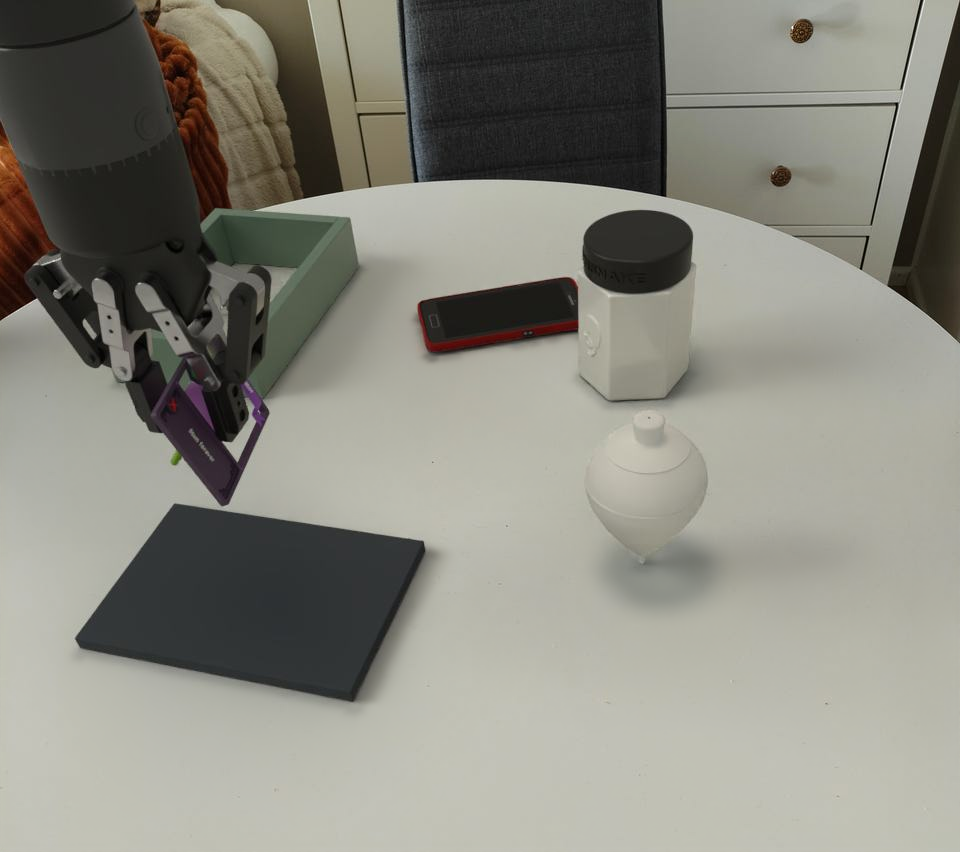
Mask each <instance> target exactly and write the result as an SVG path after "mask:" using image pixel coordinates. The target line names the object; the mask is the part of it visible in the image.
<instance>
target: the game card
mask: <svg viewBox="0 0 960 852" xmlns="http://www.w3.org/2000/svg"><path fill="white" fill-rule="evenodd" d="M207 351H208V353H210V354H211V352H210V351H209V349H208V347H207ZM210 354H209V355H210ZM211 355H212V354H211ZM186 369H187V372H188V375H189V378H190V380H191V381H193V383H191V382H190V381H189V385H188V387H187V388H186V389H185V390H183V389H182V387H181V386H180V385H179V381H180V379H181V377H182V375H183V374H184V372H185V370H186ZM241 387H242V389H243V391H244V392H245V393H246V395H247V396H248V397H247V398H248V399H249V401H250V403H251V404H252V405H253V407H254V408H253V410H252V412H251V417H252V418H253V419H254V421H255V423H254V424H253V428H252V430H251V432H250V434H249V437H248V438H247V440H246V443H245V445H244V447H243V450H242V451H241V454H240V456H239V457H238V460H236V457H234V456H233V454H232V452H230V450H229V449H228V448H227V446H226V445H225V444H224V442H223V441H220V440H219V439H218V438H217V436H216V434H215V431H214V428H213V425H212V422H211V419H210V416H209V413H208V410H207V407H206V404H205V401H204V398H203V395H202V392H201V390H202V389H203V386H202V385H201V383H200V382H199V380H198V378H197V376H196V375H195V373H194V371H193V370H192V368H191V366H190V365H189V363H188V361H187V359H186V358H184V357H183V359H182V361H181V362H180V364H179V366H178V368H177V369H176V371H175V373H174V375H173V376H172V378H171V380H170V381H169V383H168V385H167V387H166V388H165V390H164V392H163V394H162V395H161V397H160V399H159V401H158V402H157V404H156V406H155V408H154V409H153V411H152V413H151V418H152V420H153V421H154V422H155V423H156V425H157V426H158V427H159V428H160V430H161V431H162V432H163V433H162V434H163V435H164V436H165V438H166V439H167V440H168V441H169V443H170V444H171V445H172V446H173V448H174V449H175V451H174V453H172V458H171V459H170V464H171V465H172V466H177V465H178V464H179V462H180V461H181V460H182V459H183V461H185V463H186V464H187V465H188V466H189V468H190V469H191V470H192V472H193V473H194V474H195V476H196V477H197V478H198V479H199V481H200V482H201V483H202V484H203V485H204V487H205V488H206V489H207V490H208V492H209V493H210V495H211V496H212V497H213V498H214V499H215V500H216V502H217V503H218V505H220V506H221V507H225V506H229V504H230V503H231V500H232V498H233V496H234V494H235V492H236V489H237V488H238V485H239V482H240V481H241V479H242V477H243V475H244V472H245V469H246V468H247V465H248V463H249V461H250V458H251V456H252V454H253V451H254V449H255V448H256V445H257V443H258V440H259V438H260V436H261V434H262V431H263V429H264V428H265V425H266V422H267V420H268V418H269V416H270V409H269V408H268V406H267V405H266V404H265V402H264V400H263V399H261V398H260V396H259V395H258V393H257V392H256V390H255V389H254V388H253V386H252V385H251V383H250V382H249V380H248V379H247V380H246V382H245V383H244V384H242V385H241Z"/></svg>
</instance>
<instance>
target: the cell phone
mask: <svg viewBox="0 0 960 852" xmlns="http://www.w3.org/2000/svg"><path fill="white" fill-rule="evenodd" d="M416 309H417V315H418V320H419V323H420V324H419V325H420V327H421V332H422V336H423V340H424V344H425V347H426V349H427V350H428V351H429V352H431V353H439V352H447V351H454V350H458V349H466V348H471V347H478V346H483V345H489V344H490V345H491V344H495V343H501V342H507V341H513V340H519V339H525V338H531V337H537V336H544V335H548V334H549V335H550V334H555V333H561V332H567V331H574V330H579V329H578V283H577V282H576V280H575V279H574V278H572V277H569V276H562V277H556V278H555V277H554V278H548V279H547V278H546V279H542V280H536V281H530V282H524V283H523V282H522V283H518V284H511V285H505V286H500V287H493V288H487V289H481V290H474V291H468V292H462V293H455V294H450V295H443V296H437V297H432V298H427V299H422V300H420V301H419V302H418V303H417V307H416Z"/></svg>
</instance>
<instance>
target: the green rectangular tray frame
mask: <svg viewBox="0 0 960 852" xmlns="http://www.w3.org/2000/svg"><path fill="white" fill-rule="evenodd" d="M352 224H353V223H352V219H351V217H349V216H337V215H323V214H307V213H293V212H292V213H291V212H279V211H278V212H276V211H265V210H263V211H261V210H248V209H232V208H221V207H220V208H219V207H215V208H214V209H213V210H212V211H211V212H210V213H209V214H208V215H207V216H206V217H205V219H203V220H202V221H201V222H200V225H201V230H202V233H203V235H204V236H205V238H206V240H207V241H208V243H209V244H210V245H211V246H212V248H213V249H214V250H215V252H216V254H217V256H218V259H219V262H220V263H223V264H225V265H228V266H230V267H232V265H234V263H236V264H248V265H257V266H270V267H271V266H272V267H273V266H274V267H283V268H296V270H295V271H294V272H293V274H292V275H291V276H290V278H289V279H288V280H287V282H285V284H284V285H283V286H282V287H281V289H280V290H279V291H278V292H277V294H276V295H275V296H274V298H273V299H272V300H270V303H269V315H268V326H267V337H266V348H265V356H264V358H263V359H262V361H261V362H260V363H259V365H258V366H257V367H256V369H255V370H254V371H253V373H252V374H251V375H250V376H249V378H248V380H249V382H250V383H251V385H252V386H253V388H254V389H255V390H256V392H257V393H258V395H259V396H260V398H261V399H262V400H263V399H264V398H265V397H266V395H267V394H268V393H269V391H270V390H271V388H272V387H273V386H274V385H275V383H276V381H277V380H278V379H279V377H280V376H281V375H282V373H283V372H284V371H285V369H286V368H287V366H288V365H289V364H290V362H291V361H292V359H293V358H294V357H295V355H296V354H297V353H298V351H299V350H300V349H301V347H302V346H303V344H304V343H305V342H306V341H307V339H308V338H309V336H310V334H311V333H312V332H313V331H314V329H315V328H316V326H317V325H318V324H319V322H320V321H321V320H322V319H323V317H324V316H325V314H326V313H327V311H328V310H329V309H330V307H331V306H332V304H333V303H334V301H335V300H336V299H337V297H338V296H339V295H340V293H341V292H342V291H343V289H344V288H345V286H346V285H347V284H348V282H349V281H350V279H351V278H352V277H353V276H354V275H355V273H356V271H357V270H358V268H359V267H360V263H359V258H358V253H357V248H356V241H355V237H354V231H353V225H352ZM151 336H152V346H153V355H152V356H151V357H150V358H151V360H152V361H159V362H160V365H161V368H162V370H163V373H164V376H165V379H166V382H167V384H168V383H169V381H170V380H171V378H172V376H173V375H174V373H175V371H176V369H177V368H178V366H179V364H180V362H181V361H182V359H183V357H178V356H177V355H176V353H175V352H174V350H173V349H172V347H171V345H170V343H169V342H168V340H167V338H166V337H165V335H164V333H162V332H159V331H157V330H154V329H151ZM209 354H210V353H209ZM210 356H211V358H212V359H213V356H212V355H211V354H210ZM110 369H111V368H110ZM111 372H112V374H113V377H114V379H115V382H117V383H124V384H125V382H124V381H123V380H121V379H119V378H118V377H117V376H116V375H115V374H114V372H113V370H112V369H111ZM189 381H190V382H191V383H193V381H191V380H190V378H189V375H188V372H187V369H186V370H185V372H184V374H183V375H182V377H181V379H180V381H179V385H180V386H181V387H182V389H183V390H185V389H186V388H187V387H188V385H189ZM242 390H243V389H242ZM243 394H244V397H245V398H248V396H247V395H246V393H245V392H244V391H243Z"/></svg>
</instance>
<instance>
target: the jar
mask: <svg viewBox="0 0 960 852" xmlns="http://www.w3.org/2000/svg"><path fill="white" fill-rule="evenodd" d="M582 239H583V240H582V241H583V244H582V249H581V251H582V253H581V254H582V256H581V258H582V262H583V264H582V265H583V266H581V268H579V269H578V271H577V286H578V329H577V330H578V374H579V376H580V377H581V378H582V379H584V380H585V381H586V382H587V383H588V384H589V385H590V386H591V387H593V388H594V389H595V390H596V391H597V392H598V393H599V394H600V395H602V396H603V397H604V398H605V399H606V400H607V401H609V402H611V401H629V400H630V401H631V400H654V399H657V400H658V399H665V398H666V397H667V396H668V394H669V393H670V392H671V390H672V389H673V388H674V387H675V386H676V385H677V383H678V382H679V381H680V380H681V378H682V377H683V376H684V375H685V374H686V372H687V371H688V369H689V364H690V351H691V339H692V329H693V328H692V326H693V315H694V314H693V313H694V301H695V290H696V289H695V288H696V278H697V277H696V276H697V264H696V263H695V262H693V261H692V258H693V246H694V232H693V229H692V228H691V226H690V225H689V223H688V222H686V221H685V220H683V218H680V217H679V216H677V215H674V214H671V213H669V212H664V211H659V210H652V209H632V210H624V211H618V212H614V213H611V214H608V215H606V216H603V217H600V218H598V219H597V220H595V221H594V222H593V223H591V224H590V225H589V226H588V228H586V230H585V232H584V234H583V238H582Z"/></svg>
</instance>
